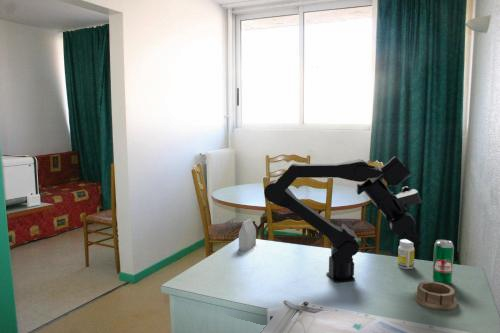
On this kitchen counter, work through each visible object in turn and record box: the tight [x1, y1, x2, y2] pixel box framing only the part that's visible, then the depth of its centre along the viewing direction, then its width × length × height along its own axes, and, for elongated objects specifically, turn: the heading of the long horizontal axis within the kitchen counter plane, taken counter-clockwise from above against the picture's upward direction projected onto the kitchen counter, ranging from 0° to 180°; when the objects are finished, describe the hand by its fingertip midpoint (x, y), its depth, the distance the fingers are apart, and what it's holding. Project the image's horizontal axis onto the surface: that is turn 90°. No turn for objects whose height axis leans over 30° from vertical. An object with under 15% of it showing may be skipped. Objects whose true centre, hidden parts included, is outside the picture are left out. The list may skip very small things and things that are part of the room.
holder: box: [414, 280, 458, 311], centre depth 105 cm, size 10×10×4 cm
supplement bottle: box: [397, 238, 415, 270], centre depth 128 cm, size 5×5×8 cm
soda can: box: [432, 239, 455, 286], centre depth 116 cm, size 5×5×12 cm
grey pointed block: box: [238, 218, 257, 251], centre depth 148 cm, size 4×7×10 cm, turn 154°
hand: (416, 238), depth 115 cm, fingers open, 9 cm apart
